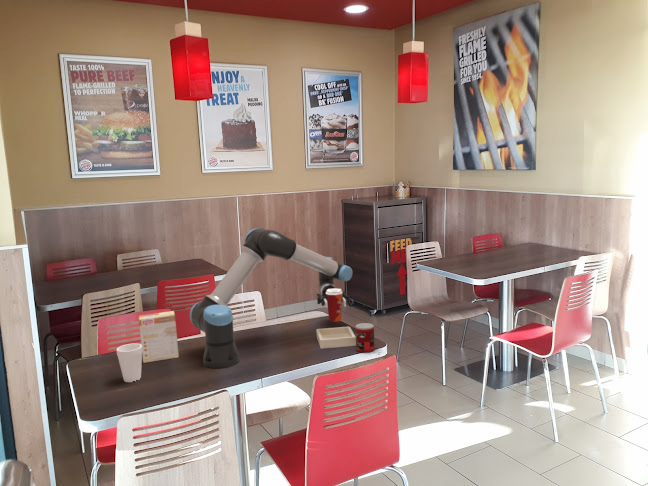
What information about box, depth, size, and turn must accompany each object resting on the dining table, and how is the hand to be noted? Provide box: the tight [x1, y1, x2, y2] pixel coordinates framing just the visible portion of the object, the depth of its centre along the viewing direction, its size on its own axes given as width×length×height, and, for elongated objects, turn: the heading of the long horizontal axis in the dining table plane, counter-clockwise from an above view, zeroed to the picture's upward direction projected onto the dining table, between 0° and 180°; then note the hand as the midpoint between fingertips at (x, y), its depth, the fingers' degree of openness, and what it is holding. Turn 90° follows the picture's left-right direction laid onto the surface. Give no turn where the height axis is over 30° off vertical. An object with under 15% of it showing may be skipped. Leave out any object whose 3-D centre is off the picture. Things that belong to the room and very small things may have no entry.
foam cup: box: [116, 342, 143, 383], centre depth 208 cm, size 10×9×13 cm
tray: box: [315, 326, 356, 350], centre depth 243 cm, size 16×16×4 cm
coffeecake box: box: [138, 310, 180, 363], centre depth 230 cm, size 15×7×20 cm, turn 110°
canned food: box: [355, 322, 375, 354], centre depth 230 cm, size 8×8×11 cm
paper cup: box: [326, 287, 344, 322], centre depth 240 cm, size 8×8×14 cm
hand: (336, 304), depth 235 cm, fingers closed on paper cup, 8 cm apart
